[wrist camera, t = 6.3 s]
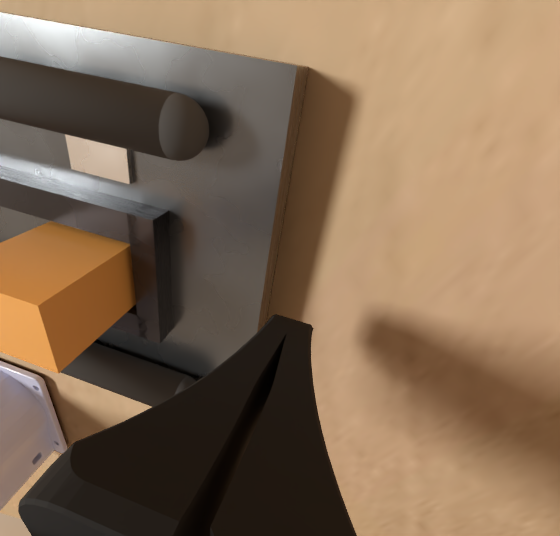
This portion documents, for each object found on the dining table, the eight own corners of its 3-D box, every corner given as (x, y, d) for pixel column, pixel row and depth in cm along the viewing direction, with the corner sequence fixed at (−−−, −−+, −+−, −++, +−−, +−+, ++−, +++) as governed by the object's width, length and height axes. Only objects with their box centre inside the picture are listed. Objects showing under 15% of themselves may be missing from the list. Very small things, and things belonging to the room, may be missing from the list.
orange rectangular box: (144, 296, 14) (58, 373, 11) (73, 273, 15) (-32, 339, 11) (139, 239, 13) (37, 305, 9) (61, 216, 14) (-65, 270, 10)
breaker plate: (253, 400, 18) (235, 442, 16) (-84, 281, 22) (-133, 303, 20) (309, 66, 10) (287, 64, 8) (-252, -34, 14) (-367, -53, 12)
